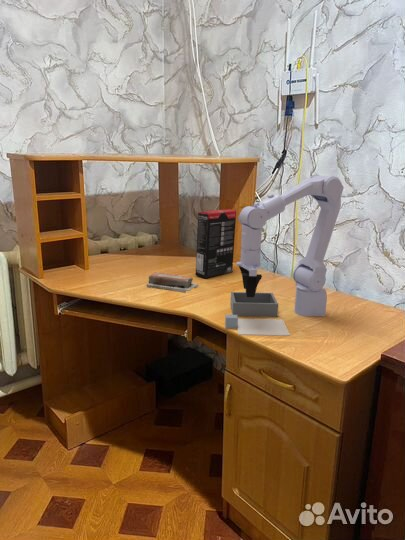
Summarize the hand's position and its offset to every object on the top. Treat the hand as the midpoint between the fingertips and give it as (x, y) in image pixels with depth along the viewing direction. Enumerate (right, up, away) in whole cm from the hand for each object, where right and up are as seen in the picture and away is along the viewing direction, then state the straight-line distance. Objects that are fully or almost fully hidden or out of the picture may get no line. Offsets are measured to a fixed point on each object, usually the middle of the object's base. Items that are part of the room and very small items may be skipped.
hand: (248, 292), depth 126 cm
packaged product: (-26, 0, +36) cm, 44 cm away
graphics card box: (-9, +5, +54) cm, 54 cm away
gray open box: (+3, -7, +11) cm, 14 cm away
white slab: (+2, -11, -2) cm, 11 cm away
